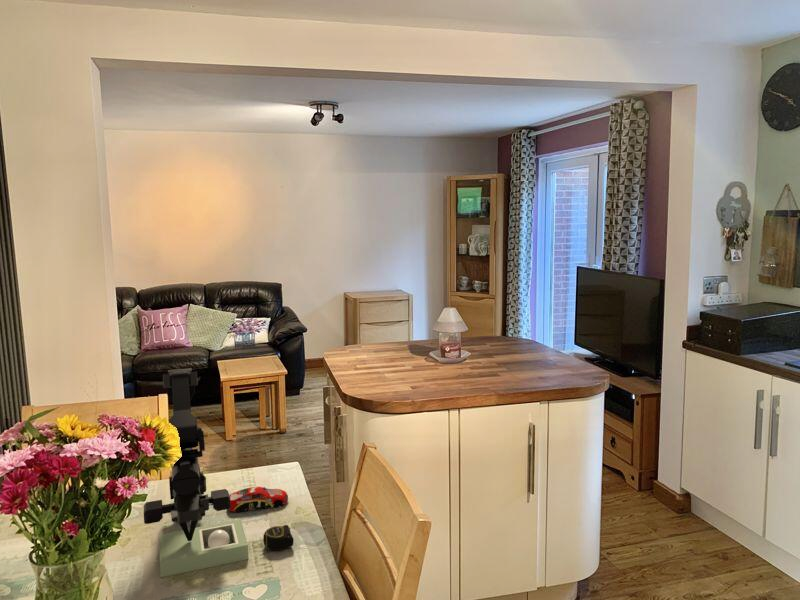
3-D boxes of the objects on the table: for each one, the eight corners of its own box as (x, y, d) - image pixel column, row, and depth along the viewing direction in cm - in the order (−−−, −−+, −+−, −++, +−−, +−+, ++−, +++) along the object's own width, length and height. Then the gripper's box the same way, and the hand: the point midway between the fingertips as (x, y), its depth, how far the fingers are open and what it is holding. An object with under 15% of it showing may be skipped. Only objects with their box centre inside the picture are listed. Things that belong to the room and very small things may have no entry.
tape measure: (294, 550, 144) (293, 536, 143) (265, 555, 141) (264, 540, 141) (290, 536, 150) (290, 522, 150) (262, 541, 148) (261, 526, 147)
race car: (287, 496, 172) (286, 480, 171) (289, 507, 166) (288, 490, 165) (228, 504, 168) (227, 487, 167) (227, 515, 161) (227, 497, 161)
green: (160, 548, 145) (159, 534, 145) (241, 532, 152) (240, 519, 151) (160, 577, 133) (159, 562, 133) (248, 559, 140) (247, 544, 139)
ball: (205, 529, 144) (227, 523, 146) (208, 548, 145) (229, 542, 147) (207, 539, 140) (229, 533, 141) (210, 558, 140) (232, 553, 142)
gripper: (141, 498, 128) (146, 567, 130) (231, 483, 135) (235, 548, 137) (142, 478, 138) (146, 542, 140) (226, 465, 145) (229, 526, 147)
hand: (189, 540), depth 141 cm, fingers closed
